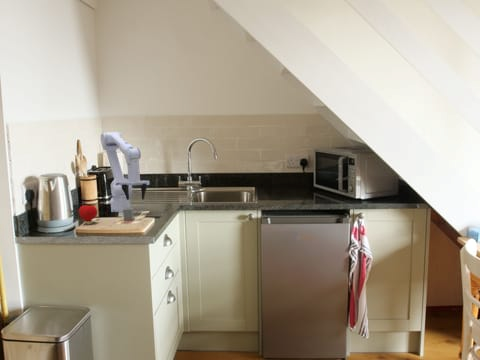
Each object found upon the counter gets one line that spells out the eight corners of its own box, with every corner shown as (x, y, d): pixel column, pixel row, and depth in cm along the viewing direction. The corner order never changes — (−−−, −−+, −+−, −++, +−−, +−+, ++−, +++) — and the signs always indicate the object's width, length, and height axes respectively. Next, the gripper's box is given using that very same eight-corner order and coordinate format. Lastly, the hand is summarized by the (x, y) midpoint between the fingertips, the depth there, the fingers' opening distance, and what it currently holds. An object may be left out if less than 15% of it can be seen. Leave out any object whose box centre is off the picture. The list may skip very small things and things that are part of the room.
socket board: (112, 227, 205) (112, 223, 204) (127, 214, 230) (126, 211, 230) (138, 226, 205) (138, 222, 204) (150, 213, 230) (149, 210, 230)
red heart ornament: (76, 227, 206) (74, 206, 205) (86, 224, 213) (84, 203, 211) (92, 228, 203) (90, 207, 201) (102, 225, 209) (100, 204, 208)
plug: (124, 224, 210) (123, 209, 209) (126, 222, 214) (125, 208, 213) (132, 224, 210) (131, 209, 209) (134, 222, 214) (133, 207, 213)
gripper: (116, 174, 215) (119, 201, 217) (146, 173, 215) (148, 200, 217) (120, 172, 222) (122, 198, 224) (149, 171, 222) (151, 197, 224)
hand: (135, 199), depth 221 cm, fingers open, 7 cm apart
